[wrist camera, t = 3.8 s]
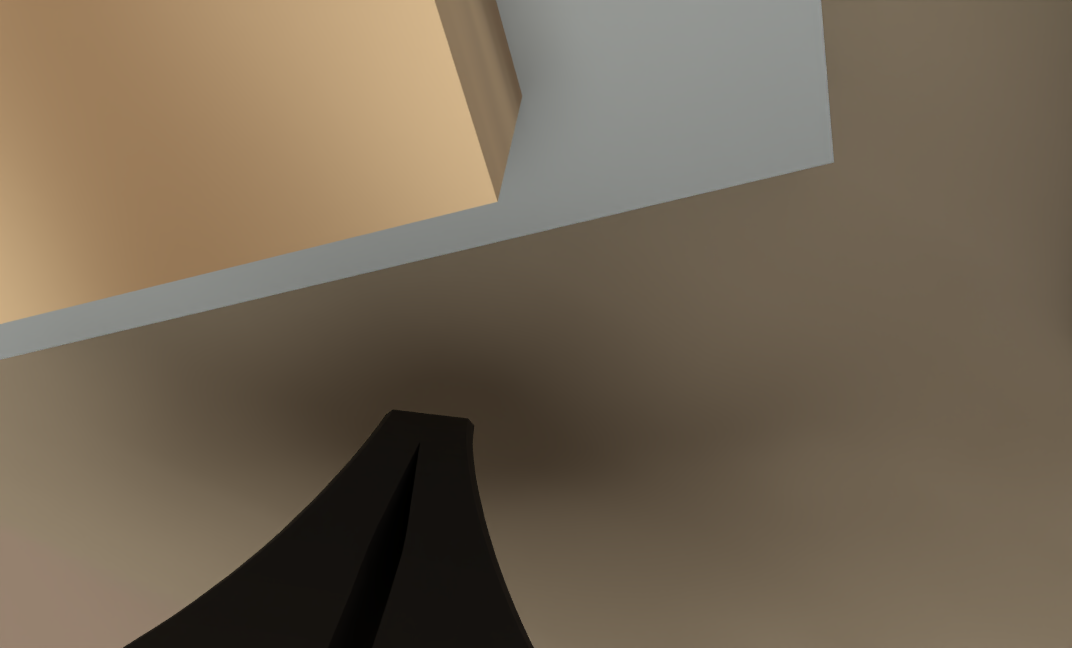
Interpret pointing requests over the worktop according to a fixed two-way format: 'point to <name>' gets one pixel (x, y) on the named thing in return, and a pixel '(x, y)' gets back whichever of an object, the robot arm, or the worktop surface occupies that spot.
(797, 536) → the worktop surface
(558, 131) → the board
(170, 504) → the worktop surface
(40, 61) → the oak block
